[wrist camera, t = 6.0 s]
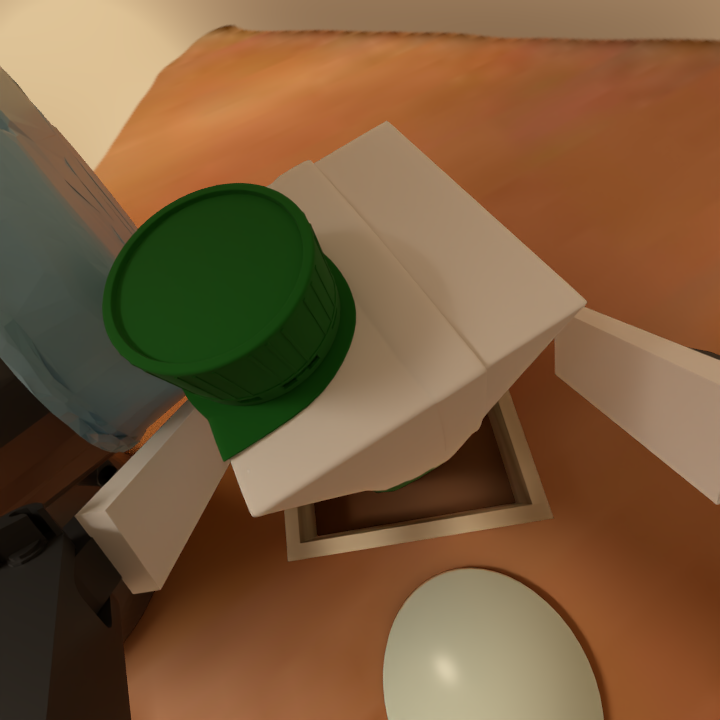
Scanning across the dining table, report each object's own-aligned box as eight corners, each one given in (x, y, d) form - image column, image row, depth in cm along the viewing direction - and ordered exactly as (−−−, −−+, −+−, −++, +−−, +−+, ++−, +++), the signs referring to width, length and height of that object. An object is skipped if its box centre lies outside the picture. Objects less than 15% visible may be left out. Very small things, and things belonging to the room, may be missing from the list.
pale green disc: (406, 839, 17) (406, 851, 16) (369, 581, 21) (367, 584, 20) (639, 821, 16) (647, 833, 15) (550, 554, 20) (553, 555, 19)
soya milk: (313, 405, 26) (46, 191, 7) (411, 343, 26) (390, -2, 8) (372, 514, 22) (149, 613, 4) (485, 439, 23) (747, 223, 4)
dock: (307, 551, 22) (287, 561, 19) (289, 352, 28) (272, 334, 25) (533, 514, 21) (554, 518, 18) (466, 312, 26) (472, 287, 23)
